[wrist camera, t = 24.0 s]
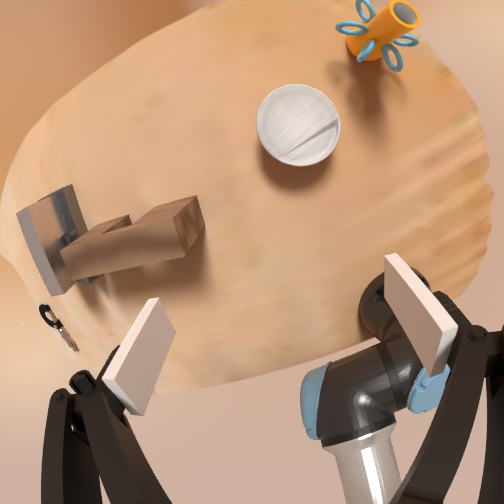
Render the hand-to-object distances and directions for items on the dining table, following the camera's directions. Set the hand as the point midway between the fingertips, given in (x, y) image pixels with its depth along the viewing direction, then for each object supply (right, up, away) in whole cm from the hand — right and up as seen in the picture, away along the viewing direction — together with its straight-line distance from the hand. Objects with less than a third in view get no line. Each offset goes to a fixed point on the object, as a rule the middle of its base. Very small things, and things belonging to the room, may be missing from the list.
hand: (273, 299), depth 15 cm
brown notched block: (-19, +7, +29) cm, 36 cm away
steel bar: (-36, +6, +28) cm, 46 cm away
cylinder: (+16, +34, +16) cm, 41 cm away
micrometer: (-53, -17, +43) cm, 70 cm away
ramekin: (+5, +21, +22) cm, 31 cm away
